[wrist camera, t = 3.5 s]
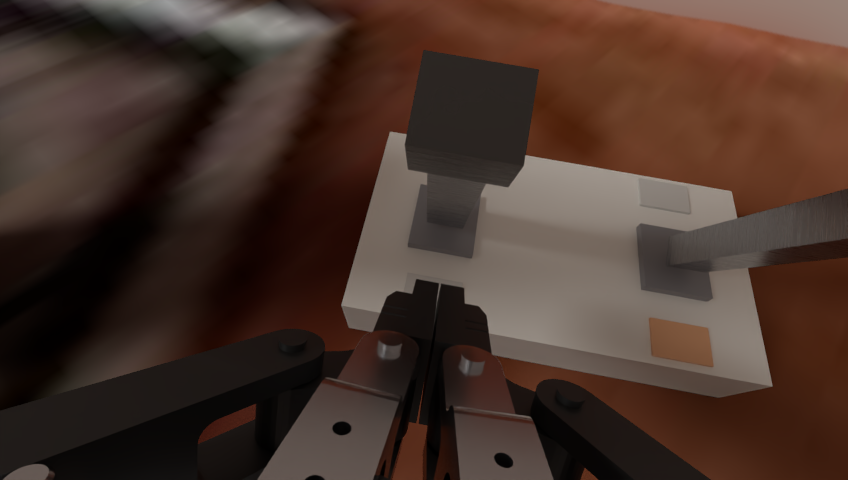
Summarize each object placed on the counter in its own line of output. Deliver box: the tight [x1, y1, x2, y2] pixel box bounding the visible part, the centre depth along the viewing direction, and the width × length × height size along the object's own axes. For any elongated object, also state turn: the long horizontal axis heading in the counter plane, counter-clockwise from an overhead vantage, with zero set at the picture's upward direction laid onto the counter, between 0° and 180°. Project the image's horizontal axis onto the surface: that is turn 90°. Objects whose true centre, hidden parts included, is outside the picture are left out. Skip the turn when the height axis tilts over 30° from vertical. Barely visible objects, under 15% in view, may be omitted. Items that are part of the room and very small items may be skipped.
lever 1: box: [405, 50, 539, 229], centre depth 17 cm, size 3×3×12 cm
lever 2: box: [666, 189, 848, 272], centre depth 16 cm, size 3×3×12 cm
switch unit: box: [341, 132, 773, 398], centre depth 26 cm, size 22×12×4 cm, turn 80°
